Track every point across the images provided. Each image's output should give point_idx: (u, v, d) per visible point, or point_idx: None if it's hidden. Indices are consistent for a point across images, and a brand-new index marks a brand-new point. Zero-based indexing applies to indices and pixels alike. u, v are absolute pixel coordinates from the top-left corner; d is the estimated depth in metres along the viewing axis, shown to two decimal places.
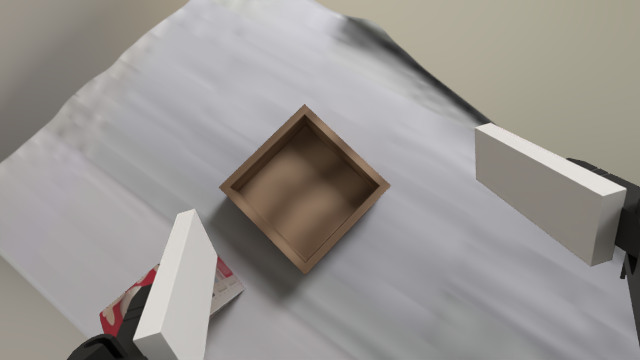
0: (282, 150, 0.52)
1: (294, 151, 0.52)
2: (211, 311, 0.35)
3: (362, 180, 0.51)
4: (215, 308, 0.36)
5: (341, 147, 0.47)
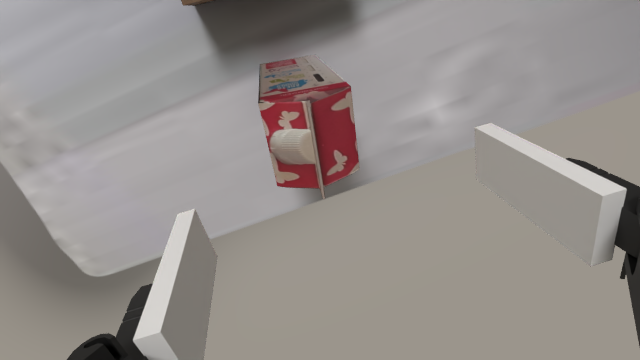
0: None
1: None
2: (339, 79, 0.28)
3: None
4: (336, 76, 0.29)
5: None
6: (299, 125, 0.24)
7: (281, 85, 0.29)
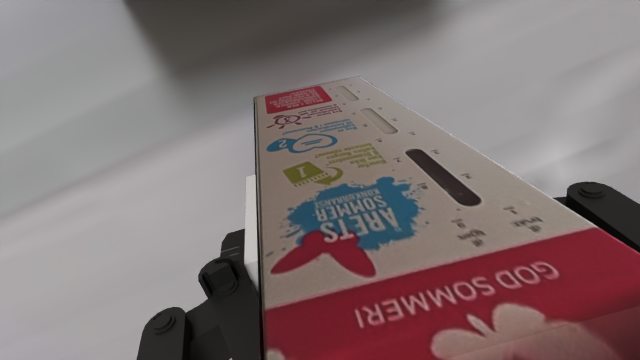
0: None
1: None
2: (540, 197, 0.08)
3: None
4: (501, 172, 0.09)
5: None
6: None
7: (329, 207, 0.09)
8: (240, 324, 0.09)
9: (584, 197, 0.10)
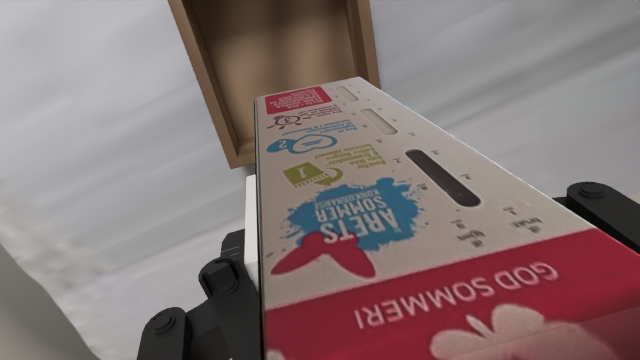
0: (212, 57, 0.35)
1: (222, 42, 0.34)
2: (540, 198, 0.08)
3: None
4: (500, 172, 0.09)
5: None
6: None
7: (329, 208, 0.09)
8: (239, 324, 0.09)
9: (584, 197, 0.10)
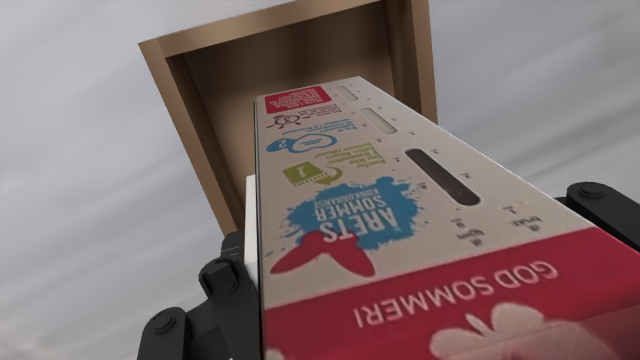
0: (213, 120, 0.26)
1: (226, 100, 0.25)
2: (539, 196, 0.08)
3: None
4: (500, 171, 0.09)
5: (284, 23, 0.19)
6: None
7: (328, 207, 0.09)
8: (240, 324, 0.09)
9: (584, 197, 0.10)
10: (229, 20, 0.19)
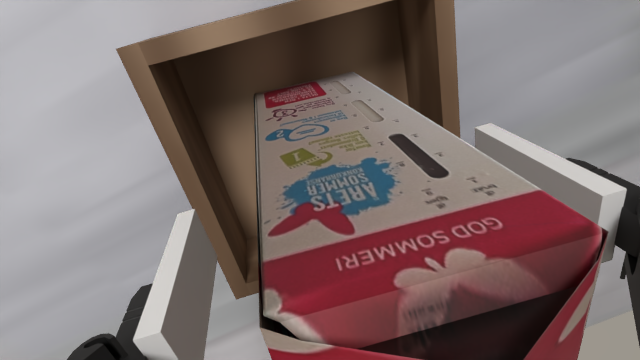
0: (207, 133, 0.23)
1: (221, 111, 0.23)
2: (499, 168, 0.09)
3: None
4: (469, 150, 0.10)
5: (288, 25, 0.17)
6: None
7: (319, 184, 0.10)
8: None
9: None
10: (223, 22, 0.16)
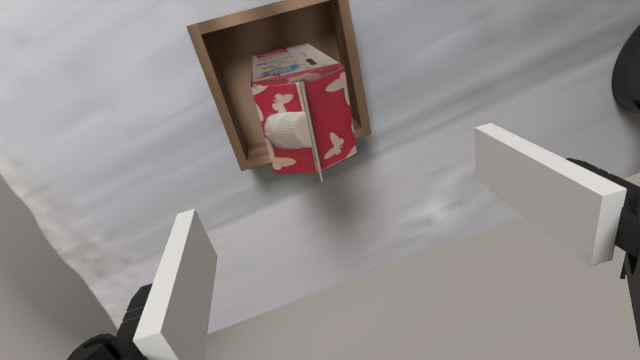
0: (224, 77, 0.41)
1: (233, 64, 0.41)
2: (332, 61, 0.27)
3: (309, 5, 0.39)
4: (329, 59, 0.28)
5: (267, 15, 0.35)
6: (294, 108, 0.24)
7: (273, 71, 0.28)
8: None
9: None
10: (236, 13, 0.34)
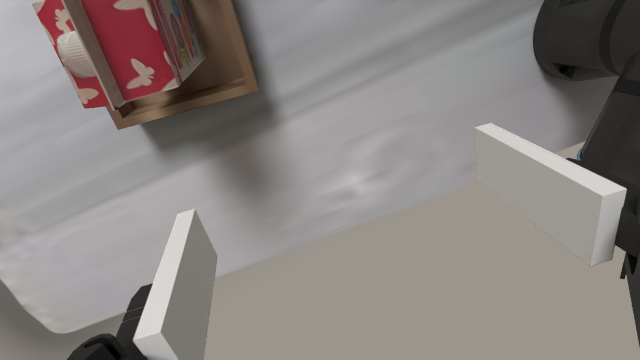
0: None
1: None
2: None
3: None
4: None
5: None
6: None
7: None
8: None
9: None
10: None
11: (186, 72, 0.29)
